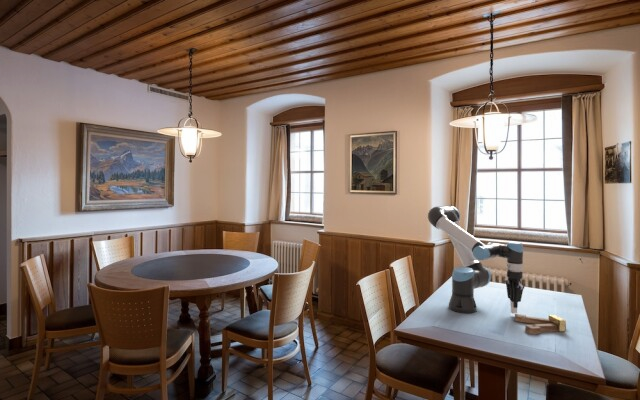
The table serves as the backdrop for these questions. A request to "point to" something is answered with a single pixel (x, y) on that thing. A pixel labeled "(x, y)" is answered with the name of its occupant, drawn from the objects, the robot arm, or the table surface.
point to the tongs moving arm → (532, 320)
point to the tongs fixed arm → (541, 328)
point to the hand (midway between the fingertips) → (513, 312)
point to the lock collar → (558, 322)
